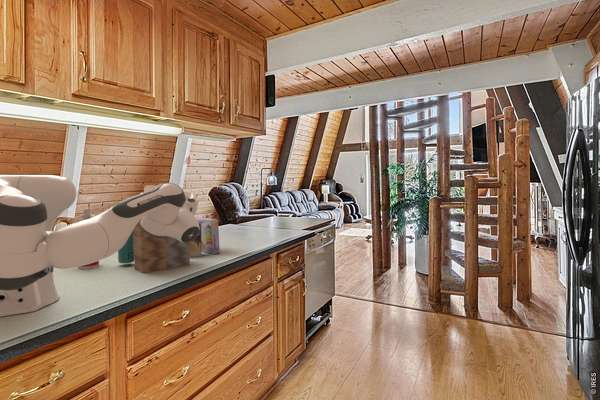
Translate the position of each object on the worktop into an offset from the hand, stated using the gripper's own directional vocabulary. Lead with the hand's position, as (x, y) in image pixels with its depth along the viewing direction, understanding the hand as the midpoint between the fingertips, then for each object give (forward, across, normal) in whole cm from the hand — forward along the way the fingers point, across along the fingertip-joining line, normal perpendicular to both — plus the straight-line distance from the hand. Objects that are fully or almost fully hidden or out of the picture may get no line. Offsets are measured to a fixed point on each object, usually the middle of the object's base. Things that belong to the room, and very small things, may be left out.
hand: (161, 189), depth 131 cm
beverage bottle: (+6, -6, -43) cm, 44 cm away
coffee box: (+4, +23, -42) cm, 48 cm away
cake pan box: (+8, +33, -44) cm, 56 cm away
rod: (+4, 0, -5) cm, 7 cm away
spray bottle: (+13, -19, -47) cm, 52 cm away
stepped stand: (-5, +5, -36) cm, 37 cm away
